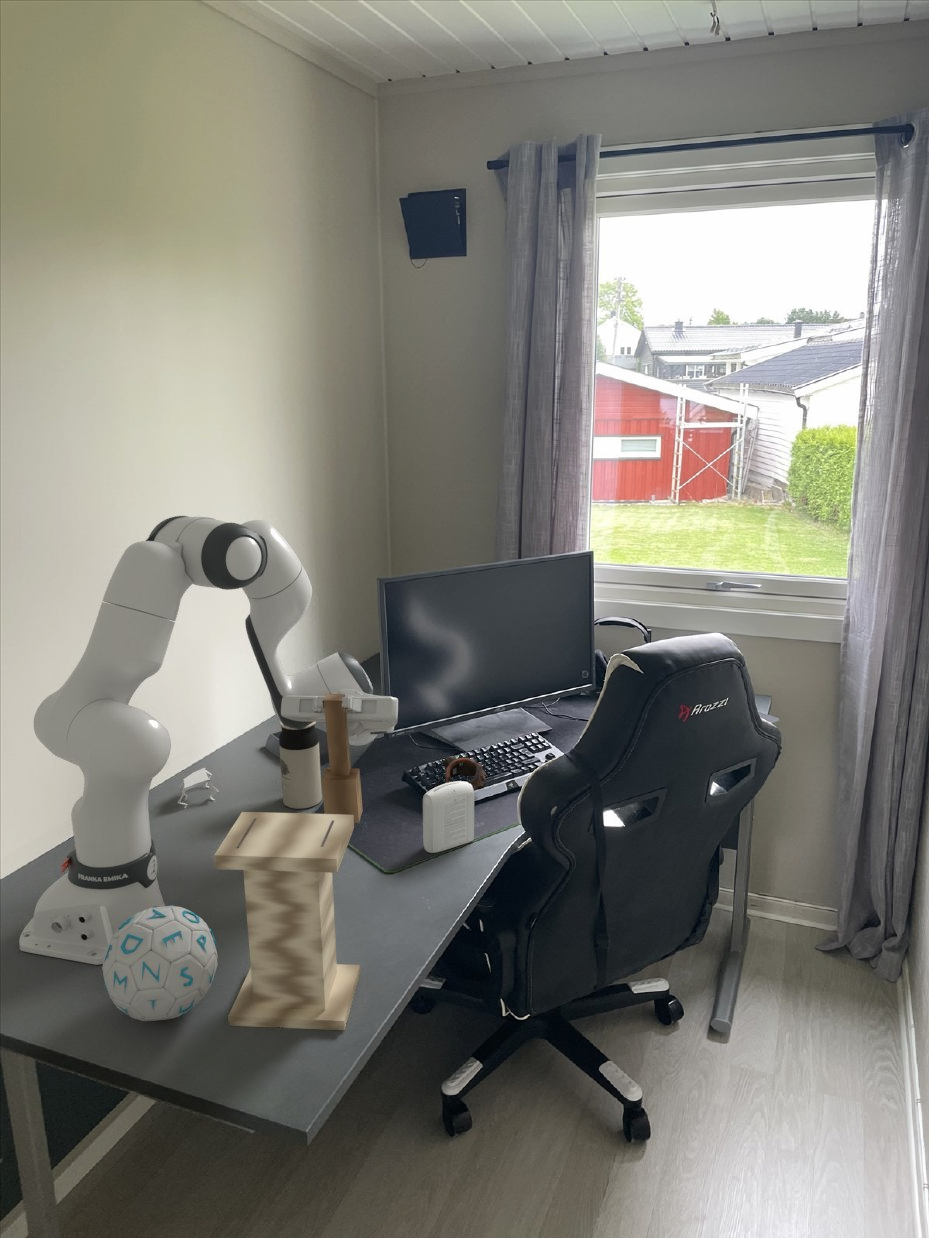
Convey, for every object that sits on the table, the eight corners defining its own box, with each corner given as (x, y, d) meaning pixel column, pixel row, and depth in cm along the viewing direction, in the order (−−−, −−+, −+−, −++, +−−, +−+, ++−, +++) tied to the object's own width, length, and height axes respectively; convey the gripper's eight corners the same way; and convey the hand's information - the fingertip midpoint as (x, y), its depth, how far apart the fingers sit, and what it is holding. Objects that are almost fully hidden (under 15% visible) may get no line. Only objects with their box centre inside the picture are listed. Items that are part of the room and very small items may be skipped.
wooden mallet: (329, 810, 163) (325, 822, 160) (317, 693, 153) (313, 704, 150) (362, 810, 163) (359, 823, 160) (353, 694, 153) (349, 704, 150)
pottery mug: (498, 790, 194) (493, 767, 189) (467, 819, 191) (460, 796, 185) (460, 761, 202) (454, 738, 196) (429, 788, 198) (422, 766, 192)
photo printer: (465, 832, 176) (465, 773, 172) (477, 841, 172) (477, 781, 169) (419, 846, 170) (418, 786, 167) (431, 856, 167) (430, 795, 163)
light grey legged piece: (217, 809, 186) (216, 787, 184) (175, 811, 185) (173, 789, 183) (224, 783, 197) (223, 762, 196) (185, 786, 196) (183, 765, 195)
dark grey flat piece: (304, 775, 202) (303, 758, 201) (262, 749, 216) (261, 733, 215) (353, 759, 210) (352, 743, 209) (309, 735, 224) (308, 719, 223)
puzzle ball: (192, 1052, 119) (182, 953, 115) (86, 1039, 121) (73, 942, 117) (238, 978, 133) (230, 888, 129) (143, 968, 136) (133, 879, 132)
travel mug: (318, 790, 194) (314, 711, 189) (324, 806, 186) (320, 724, 182) (280, 795, 191) (275, 716, 186) (285, 812, 184) (280, 729, 179)
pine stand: (228, 1025, 124) (214, 854, 117) (254, 969, 135) (242, 811, 128) (344, 1030, 123) (336, 858, 116) (360, 973, 134) (353, 814, 127)
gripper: (292, 696, 165) (272, 682, 152) (403, 698, 164) (393, 683, 150) (289, 730, 164) (269, 719, 150) (402, 732, 162) (391, 721, 149)
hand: (332, 701), depth 150 cm, fingers closed on wooden mallet, 3 cm apart
